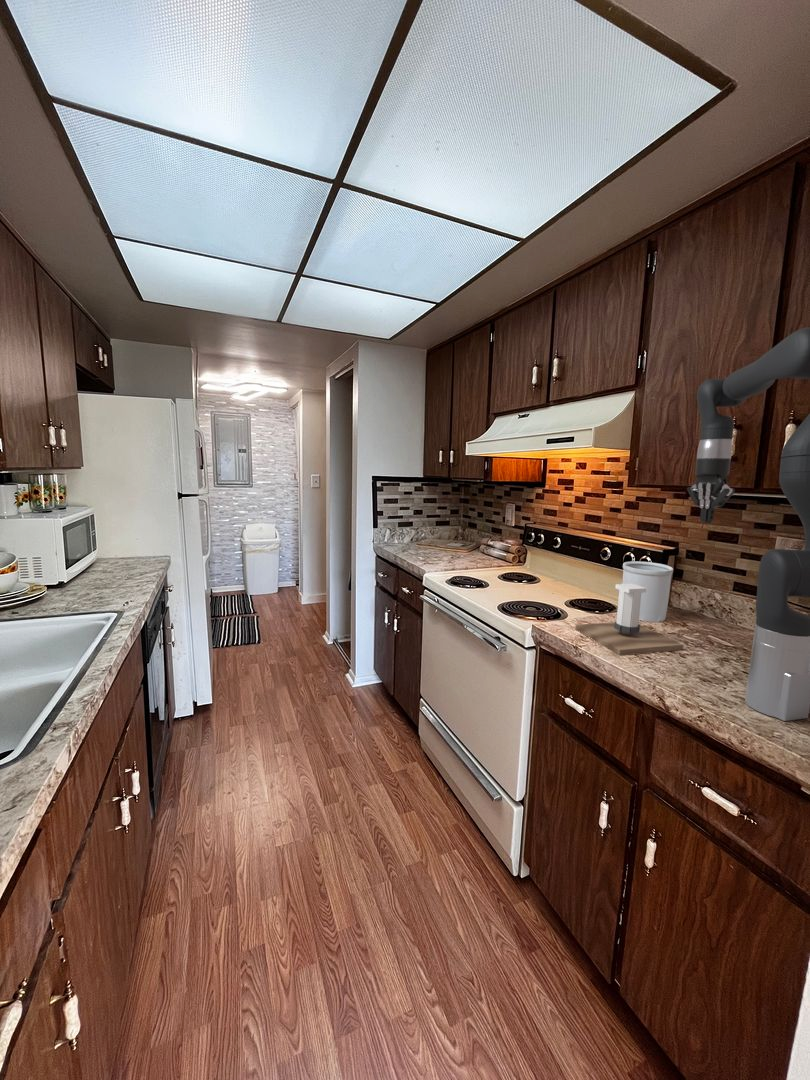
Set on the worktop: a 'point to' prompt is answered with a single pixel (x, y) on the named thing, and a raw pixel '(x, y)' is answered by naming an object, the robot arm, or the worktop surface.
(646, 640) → the pipe stand
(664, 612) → the utensil holder
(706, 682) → the worktop surface
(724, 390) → the robot arm
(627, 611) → the sleeve
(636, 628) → the o ring
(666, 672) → the worktop surface
